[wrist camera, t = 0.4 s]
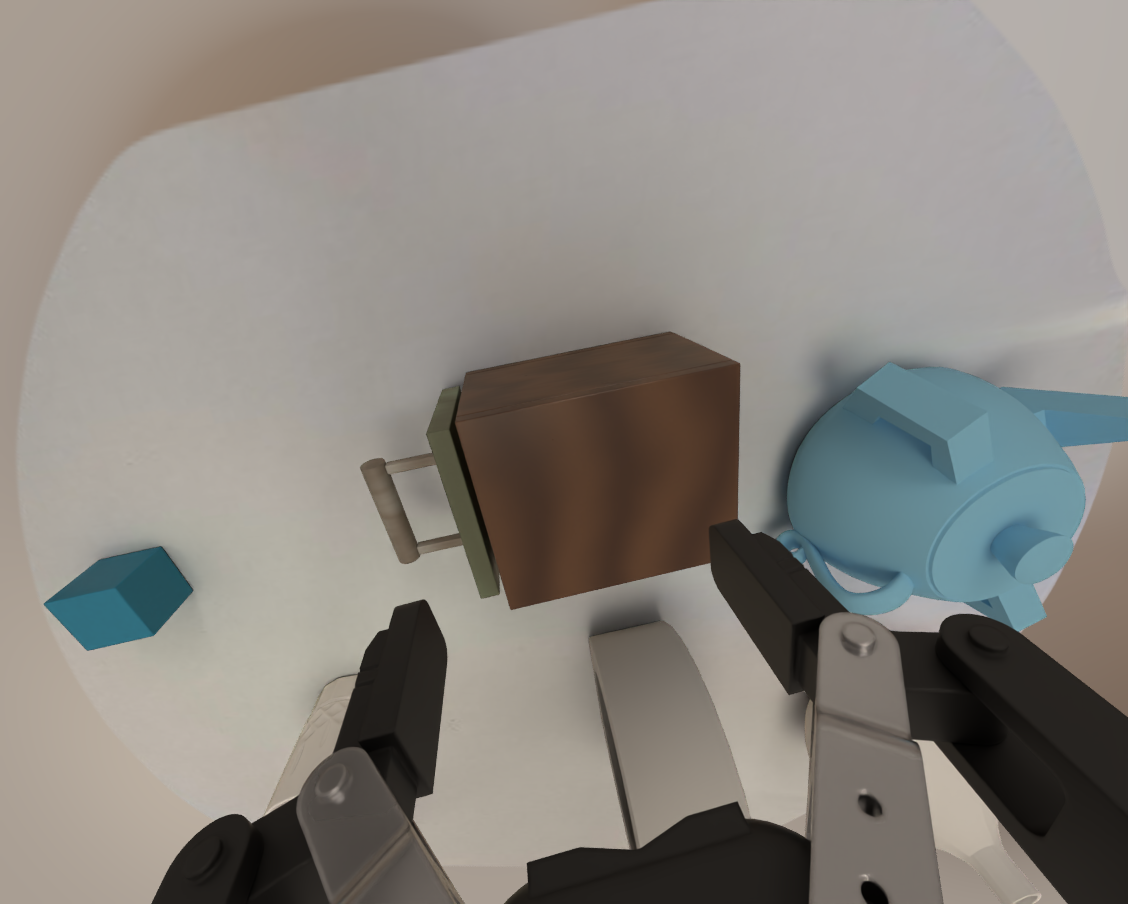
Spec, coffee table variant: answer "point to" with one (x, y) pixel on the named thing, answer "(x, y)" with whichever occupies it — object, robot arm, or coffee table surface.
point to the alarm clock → (660, 731)
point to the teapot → (945, 490)
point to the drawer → (457, 490)
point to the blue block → (120, 598)
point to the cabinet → (602, 462)
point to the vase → (965, 825)
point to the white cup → (314, 740)
